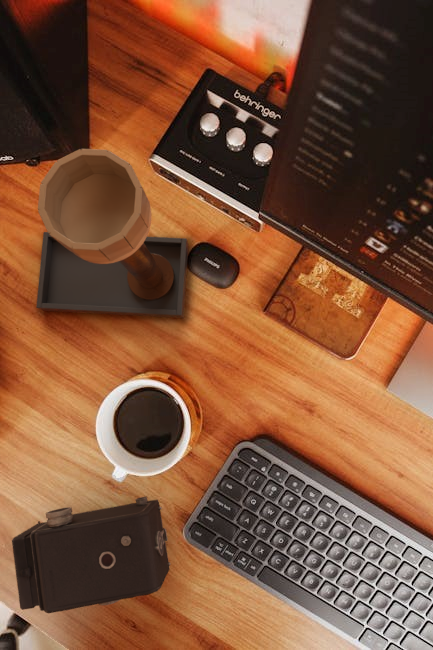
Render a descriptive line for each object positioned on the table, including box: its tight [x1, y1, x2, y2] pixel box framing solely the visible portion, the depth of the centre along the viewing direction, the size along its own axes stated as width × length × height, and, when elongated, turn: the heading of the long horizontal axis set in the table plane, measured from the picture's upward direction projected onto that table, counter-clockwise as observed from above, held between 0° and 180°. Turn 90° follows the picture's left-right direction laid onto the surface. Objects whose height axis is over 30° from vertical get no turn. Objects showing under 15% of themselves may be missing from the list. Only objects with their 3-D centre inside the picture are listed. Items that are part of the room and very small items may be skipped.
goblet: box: [37, 148, 175, 301], centre depth 53 cm, size 7×7×28 cm
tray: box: [36, 231, 189, 319], centre depth 67 cm, size 17×9×2 cm, turn 87°
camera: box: [11, 496, 172, 614], centre depth 59 cm, size 11×11×15 cm
